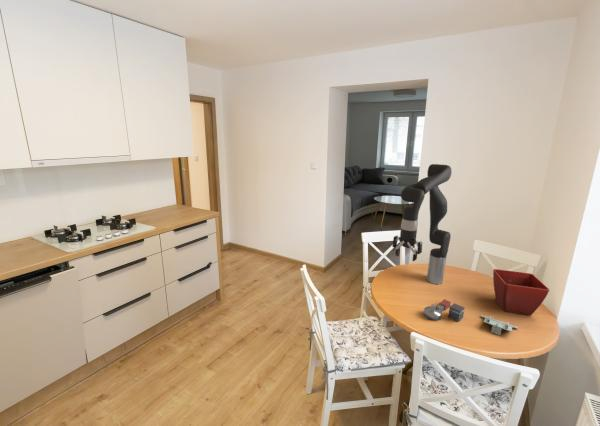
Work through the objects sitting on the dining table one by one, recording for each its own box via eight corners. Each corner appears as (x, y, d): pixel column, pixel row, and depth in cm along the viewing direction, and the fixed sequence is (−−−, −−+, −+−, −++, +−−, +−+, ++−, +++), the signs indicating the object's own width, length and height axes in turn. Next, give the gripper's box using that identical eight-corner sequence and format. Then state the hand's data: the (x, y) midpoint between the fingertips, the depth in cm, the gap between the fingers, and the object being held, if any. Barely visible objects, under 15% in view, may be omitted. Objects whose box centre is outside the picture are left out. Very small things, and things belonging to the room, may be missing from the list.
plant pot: (526, 300, 166) (532, 273, 162) (542, 320, 148) (550, 290, 144) (487, 295, 171) (492, 268, 167) (499, 313, 153) (505, 284, 149)
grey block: (452, 313, 152) (454, 303, 151) (462, 318, 149) (464, 307, 147) (447, 317, 149) (449, 306, 148) (458, 322, 145) (460, 311, 144)
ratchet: (439, 302, 163) (441, 292, 161) (454, 308, 157) (456, 298, 155) (420, 315, 150) (421, 304, 149) (435, 322, 145) (437, 311, 143)
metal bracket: (517, 329, 132) (479, 316, 141) (515, 342, 132) (476, 328, 141) (518, 323, 143) (482, 311, 152) (515, 334, 143) (480, 322, 152)
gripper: (426, 229, 145) (422, 260, 149) (398, 223, 154) (395, 252, 158) (420, 232, 139) (416, 264, 144) (392, 226, 149) (389, 256, 153)
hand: (405, 258), depth 151 cm, fingers open, 8 cm apart
